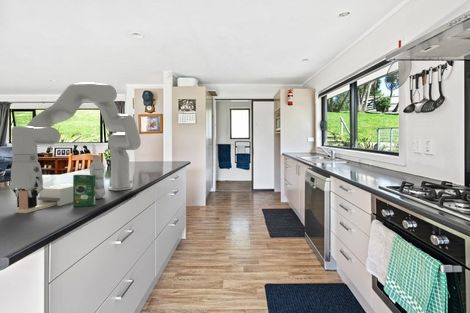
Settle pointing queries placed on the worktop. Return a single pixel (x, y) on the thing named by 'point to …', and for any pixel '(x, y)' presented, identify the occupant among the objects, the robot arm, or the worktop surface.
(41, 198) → the dispenser
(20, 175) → the robot arm
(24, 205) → the block on flat board
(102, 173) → the plastic bottle
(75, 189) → the coffee box
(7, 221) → the worktop surface
